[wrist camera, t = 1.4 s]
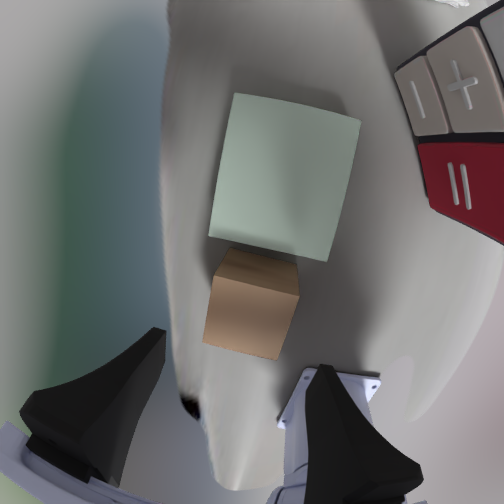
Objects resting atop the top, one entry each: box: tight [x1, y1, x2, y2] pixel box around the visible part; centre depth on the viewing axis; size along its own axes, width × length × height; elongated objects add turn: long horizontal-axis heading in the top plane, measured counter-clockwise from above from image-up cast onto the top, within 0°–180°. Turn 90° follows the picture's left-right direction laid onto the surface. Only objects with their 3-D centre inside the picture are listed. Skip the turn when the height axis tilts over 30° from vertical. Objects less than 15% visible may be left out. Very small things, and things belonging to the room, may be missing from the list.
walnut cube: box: [202, 248, 300, 361], centre depth 19 cm, size 5×5×5 cm
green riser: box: [208, 93, 362, 262], centre depth 17 cm, size 9×8×3 cm
